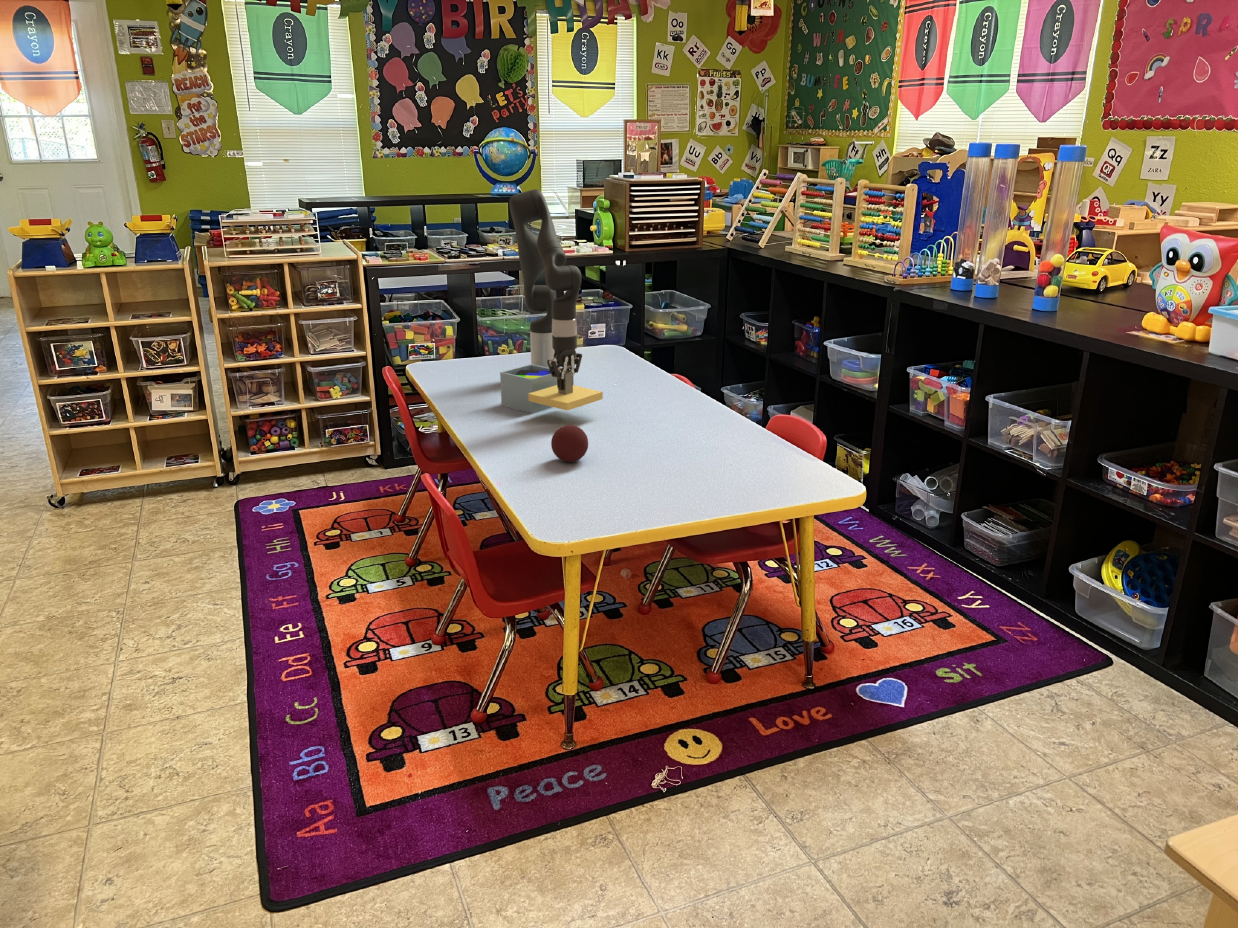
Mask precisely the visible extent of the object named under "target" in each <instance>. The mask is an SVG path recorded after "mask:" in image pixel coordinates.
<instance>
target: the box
mask: <svg viewBox="0 0 1238 928" xmlns="http://www.w3.org/2000/svg"><path fill="white" fill-rule="evenodd" d="M519 370H537V371H550V369H549V368H547V367H542V366H537V365H533V364H531V363H530V364H528V365H524V366H519V367H515V368H512V369H508V370H504V371H500V373H499V374H500V375H499V376H500V377H499V378H500V397H501V398H500V399H501V400H500V402H501V406H503V407H507V408H511V409H514V410H518V411H522V412H527V413H530V414H536V413H538V412H541V411H544V410H548V409H552V407H551V406H547V405H543V404H539V403H535V402H531V401H528V394H529V393H532V392H535V391H539V390H542V389H545V388H549V387H552V386H556V385H557V378H556V377H552V375H551V372H550V374H548V375H544V376H541V377H537V378H534V379H530V378H525V377H521V376H517V375H516V374H517V373H518V371H519ZM560 372H561V371H560Z"/></svg>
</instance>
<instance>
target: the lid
mask: <svg viewBox="0 0 1238 928" xmlns="http://www.w3.org/2000/svg"><path fill="white" fill-rule="evenodd" d="M560 374H561V372H560ZM564 382H565V390H563V391H562V390H559V389H558V387H557V385H556V386H552V387H549V388H545V389H542V390H539V391H535V392H532V393H529V394H528V401H531V402H535V403H539V404H543V405H547V406H551V408H555V409H558V410H559V409H560V410H563V411H571V410H574V409H578V408H580V407H583V406H586V405H588V404H592V403H596V402H598V401H600V400H603V398H604V397H603V394H604V392H603V391H600V390H596V389H592V388H588V387H582V386H579V385H574V384H573V382H574V376H573V372H570V371H565V375H564Z"/></svg>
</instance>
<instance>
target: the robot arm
mask: <svg viewBox="0 0 1238 928" xmlns="http://www.w3.org/2000/svg"><path fill="white" fill-rule="evenodd" d="M509 211H510V214H511V219H512V223H513V227H514V231H515V236H516V243H517V244H516V245H517V252H518V259H519V264H520V269H521V275H522V280H523V281H522V282H523V295H524V303H525V306H526V309H527V310H528V312H533V313H535V312H536V313H538V312H539V313H541V312H542V313H546V314H545V316H543V317H541V318H540V319H537V320H533V321H532V322H530V324H529V333H530V334H529V337H530V339H529V340H530V364H533V365H537V366H542V367H547V368H549V369H550V372H551V375H552V377H556V378H557V387H558V389H559V390H562V391H563V390H565V382H564V375H565V371H570V372H573V377H574V376H575V374H577V373H578V372H579V370H580V366H581V363H582V360H583V359H582V357H583V354H582V353H580V352H579V353H578V352H577V351H576V350H577V348H578V325H577V301H578V296H579V292H580V288H581V285H582V273H581V270H580V269H579V268H578V267H577V266H576V265H566V263H567V256H566V253H565V250H564V248H563V246H562V244H561V243H560V240H559V238H558V235H557V233H556V230H555V229H556V228H555V226H554V222H553V218H552V216H551V212H550V209H549V207H548V204H547V201H546V198H545V196H544V194H543V193H542V191H541V190H540V189H530V190H527V191H523V192H519V193H516V194H514V195H512V196H510V197H509ZM539 220H541V226H540V229H539V232H538V235H536V234H535V233H534V232H532V231H531V230H530V229H528V227H527V226H526V225H527V224H529V223H533V222H536V221H539ZM543 273H545V275H544V277H545V284H535V283H536V282H537V280H538V279H539V277H540V276H541V275H543ZM557 291H559V292H560V291H565V293H564V295H562V296H560V297H557ZM560 371H561V374H560ZM573 385H574V381H573Z"/></svg>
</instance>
